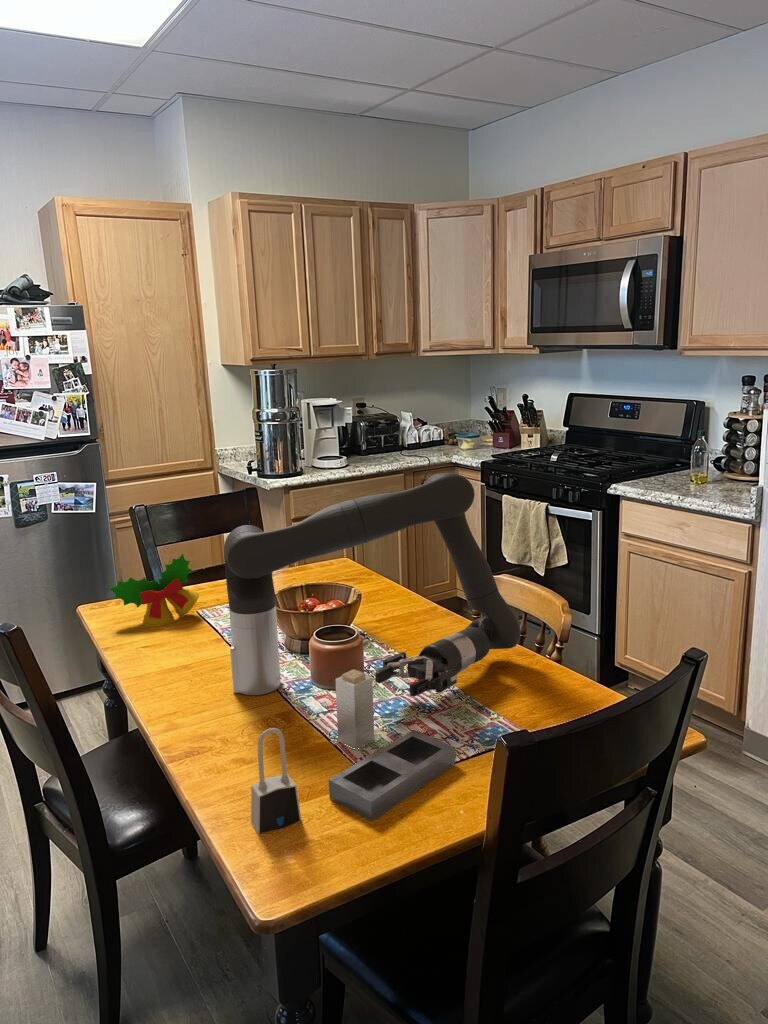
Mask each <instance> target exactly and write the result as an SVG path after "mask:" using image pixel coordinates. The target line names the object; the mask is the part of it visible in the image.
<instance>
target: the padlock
mask: <svg viewBox="0 0 768 1024" xmlns="http://www.w3.org/2000/svg"><path fill="white" fill-rule="evenodd" d="M270 734H276V735H277V736H278V741H279V749H280V762H281V763H280V764H281V773H282V774H281V775H276V776H270V777H267V778H265V769H264V767H265V766H264V752H263V751H264V750H263V748H264V747H263V745H264V739H265V738H266V737H267V736H268V735H270ZM285 744H286V743H285V737H284V733H283V731H281V729H279V728H276V727H270V728H268V729H266V730H264V731H263V732H262V733H261V734H260V735H259V736H258V740H257V759H258V760H257V761H258V774H259V781H258V782H256V783H253V784H252V785H251V794H250V796H251V798H250V801H251V803H250V805H251V806H250V808H251V809H250V810H251V811H250V813H251V814H250V816H251V817H250V823H251V824H252V826H253V828H254V829H255V831H256V833H257V835H259V834H264V833H268V832H273V831H278V830H281V829H284V828H286V827H289V826H291V825H293V824H296V823H299V822H300V821H302V816H301V809H300V808H301V807H300V801H299V800H300V799H299V793H298V787H297V785H296V784H295V781H293V779H292V778H291V777H290V775H289V774H288V773H287V772H288V771H287V758H286V757H287V756H286V754H287V753H286V745H285Z"/></svg>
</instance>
